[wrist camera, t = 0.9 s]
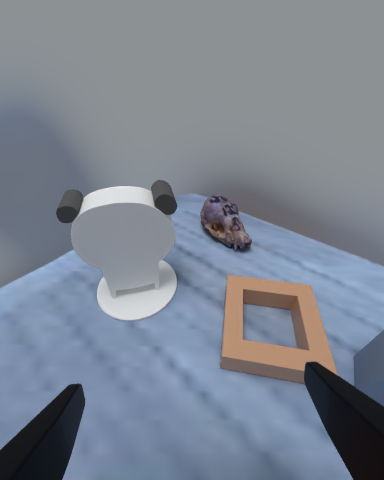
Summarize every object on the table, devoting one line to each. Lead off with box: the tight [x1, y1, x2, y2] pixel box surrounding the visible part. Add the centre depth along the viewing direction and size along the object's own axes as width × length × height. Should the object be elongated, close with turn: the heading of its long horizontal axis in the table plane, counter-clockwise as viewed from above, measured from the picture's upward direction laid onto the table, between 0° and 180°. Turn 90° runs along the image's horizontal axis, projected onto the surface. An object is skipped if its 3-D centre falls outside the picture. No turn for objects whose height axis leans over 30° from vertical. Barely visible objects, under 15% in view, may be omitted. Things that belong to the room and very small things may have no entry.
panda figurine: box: [56, 180, 177, 321], centre depth 27 cm, size 12×11×15 cm
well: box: [220, 275, 338, 384], centre depth 25 cm, size 10×10×3 cm
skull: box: [200, 194, 252, 251], centre depth 39 cm, size 12×8×6 cm, turn 19°
